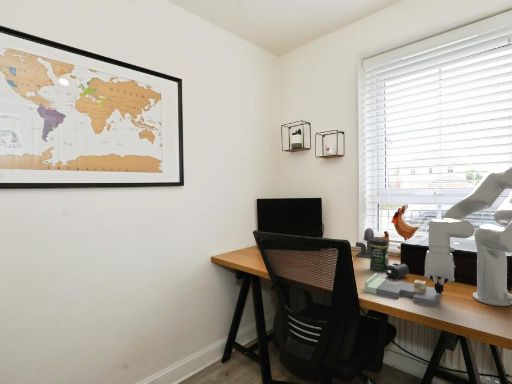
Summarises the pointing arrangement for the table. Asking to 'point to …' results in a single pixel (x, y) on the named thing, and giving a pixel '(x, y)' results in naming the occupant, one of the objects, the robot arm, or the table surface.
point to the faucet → (367, 237)
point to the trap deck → (401, 290)
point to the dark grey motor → (397, 271)
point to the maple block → (420, 286)
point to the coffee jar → (379, 254)
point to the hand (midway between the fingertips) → (439, 292)
